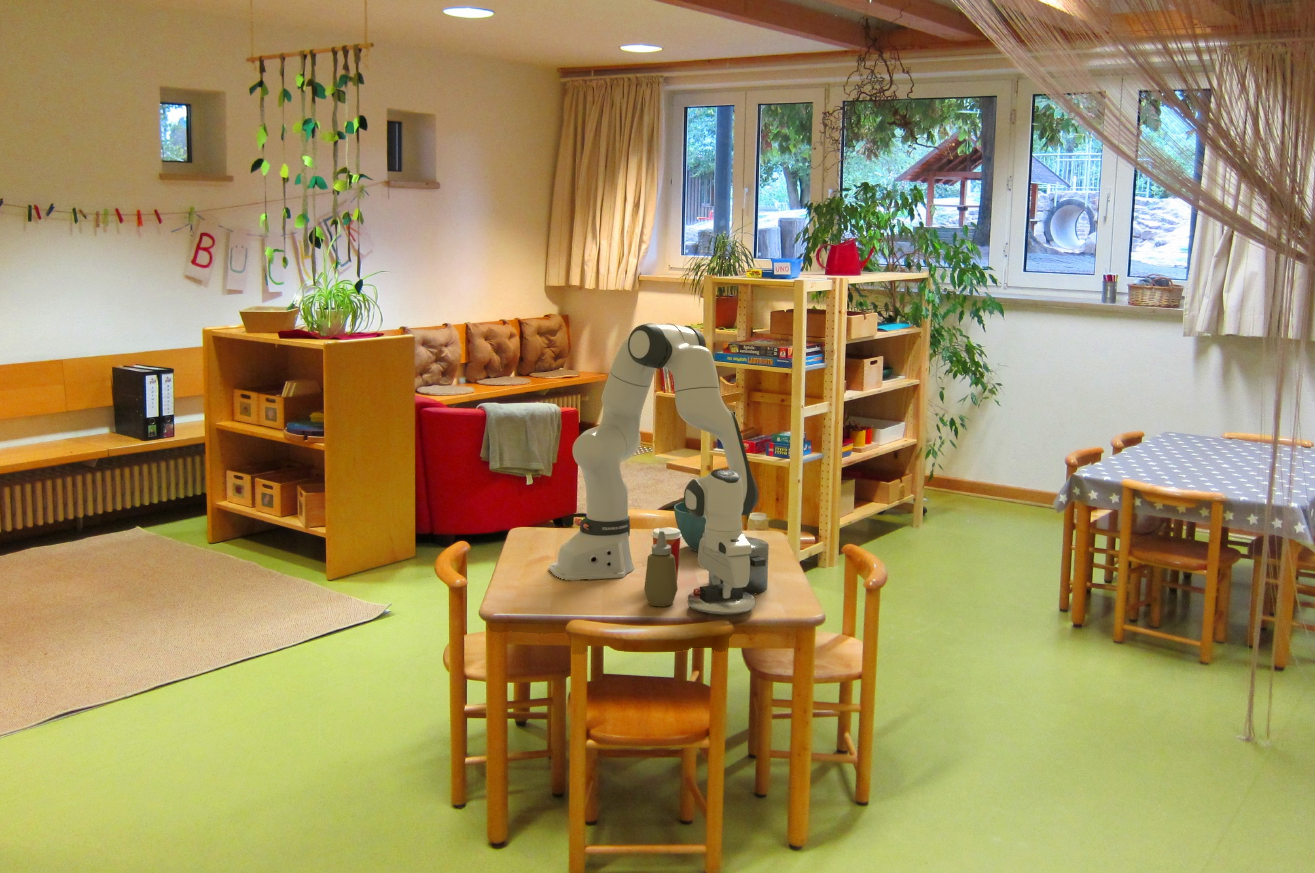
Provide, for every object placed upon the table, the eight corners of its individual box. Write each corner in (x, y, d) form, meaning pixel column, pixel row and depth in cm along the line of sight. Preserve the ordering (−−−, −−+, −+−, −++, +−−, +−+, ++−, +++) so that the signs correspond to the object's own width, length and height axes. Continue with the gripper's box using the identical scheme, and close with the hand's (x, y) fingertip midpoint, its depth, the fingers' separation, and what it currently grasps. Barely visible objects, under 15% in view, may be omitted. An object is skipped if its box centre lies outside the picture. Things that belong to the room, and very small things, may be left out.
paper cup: (646, 580, 299) (646, 528, 297) (673, 577, 302) (674, 525, 300) (658, 589, 292) (659, 535, 290) (686, 586, 295) (687, 532, 293)
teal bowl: (660, 547, 330) (660, 505, 328) (705, 536, 342) (706, 496, 340) (705, 561, 317) (705, 518, 315) (750, 549, 329) (751, 507, 327)
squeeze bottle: (652, 610, 276) (652, 537, 273) (638, 600, 283) (639, 529, 280) (682, 606, 279) (684, 534, 276) (669, 596, 287) (670, 526, 283)
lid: (705, 617, 267) (706, 600, 266) (676, 596, 281) (677, 580, 280) (766, 609, 273) (767, 592, 272) (735, 589, 288) (735, 573, 287)
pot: (732, 602, 283) (733, 558, 281) (692, 577, 302) (693, 536, 300) (785, 594, 289) (786, 552, 287) (743, 570, 309) (744, 530, 307)
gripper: (692, 528, 282) (690, 583, 285) (731, 551, 264) (728, 609, 266) (715, 526, 285) (713, 580, 287) (755, 548, 266) (753, 606, 269)
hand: (721, 594), depth 277 cm, fingers closed on lid, 3 cm apart
